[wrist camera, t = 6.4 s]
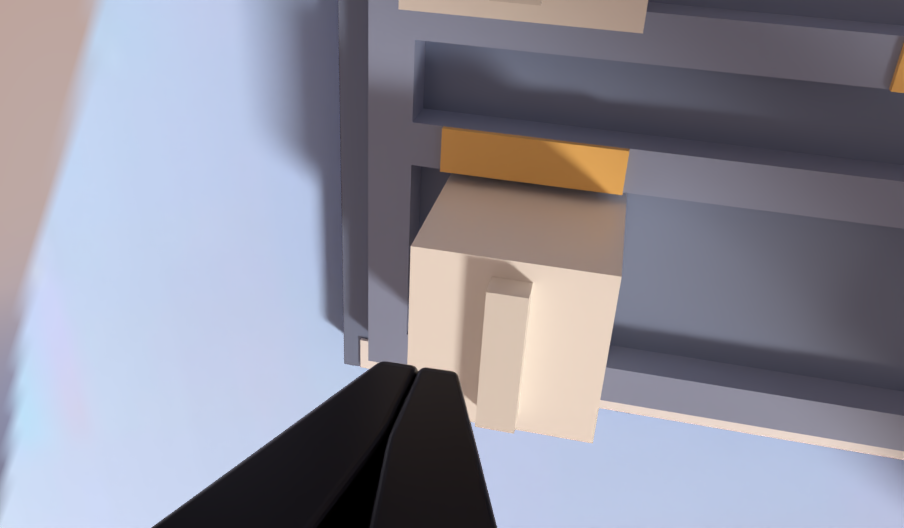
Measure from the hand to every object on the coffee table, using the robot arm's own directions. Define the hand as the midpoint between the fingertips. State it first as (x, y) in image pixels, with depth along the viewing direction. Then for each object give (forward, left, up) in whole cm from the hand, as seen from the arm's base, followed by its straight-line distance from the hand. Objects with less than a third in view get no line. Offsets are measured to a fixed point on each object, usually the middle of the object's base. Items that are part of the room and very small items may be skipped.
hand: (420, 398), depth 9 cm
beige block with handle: (0, +4, -11) cm, 12 cm away
